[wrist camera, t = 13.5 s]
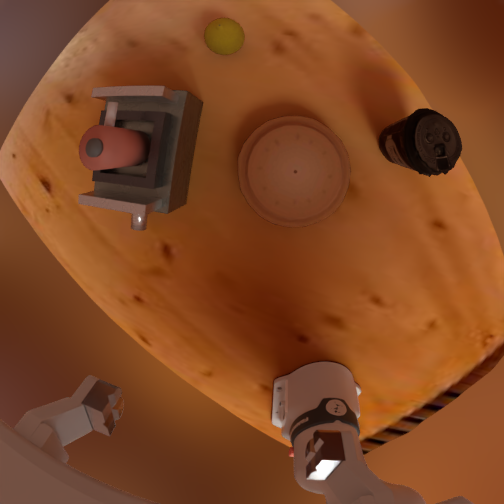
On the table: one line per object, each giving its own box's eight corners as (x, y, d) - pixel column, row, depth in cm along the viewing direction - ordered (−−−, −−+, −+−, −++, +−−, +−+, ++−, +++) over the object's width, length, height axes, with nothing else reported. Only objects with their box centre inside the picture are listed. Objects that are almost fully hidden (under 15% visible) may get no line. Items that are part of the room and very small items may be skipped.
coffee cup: (406, 182, 39) (450, 193, 27) (363, 155, 38) (397, 154, 26) (426, 136, 36) (473, 133, 24) (384, 108, 36) (423, 92, 23)
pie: (314, 102, 37) (319, 95, 32) (360, 194, 40) (371, 199, 36) (221, 149, 40) (214, 147, 35) (271, 238, 44) (270, 248, 39)
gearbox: (183, 228, 44) (149, 255, 32) (118, 216, 44) (72, 236, 32) (203, 102, 38) (174, 81, 26) (133, 99, 38) (88, 84, 26)
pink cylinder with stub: (148, 167, 34) (108, 172, 25) (117, 164, 34) (73, 169, 25) (157, 111, 31) (119, 98, 22) (125, 110, 31) (83, 100, 22)
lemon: (231, 67, 36) (222, 49, 28) (204, 51, 35) (189, 31, 27) (254, 42, 34) (249, 20, 27) (226, 27, 33) (216, 4, 26)
